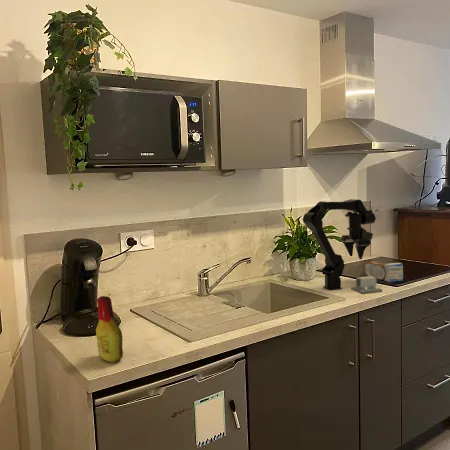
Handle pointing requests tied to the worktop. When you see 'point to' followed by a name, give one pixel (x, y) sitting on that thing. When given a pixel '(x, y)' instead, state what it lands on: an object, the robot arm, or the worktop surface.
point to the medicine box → (394, 272)
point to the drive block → (365, 282)
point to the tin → (375, 270)
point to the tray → (367, 290)
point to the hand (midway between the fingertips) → (355, 257)
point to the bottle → (108, 332)
